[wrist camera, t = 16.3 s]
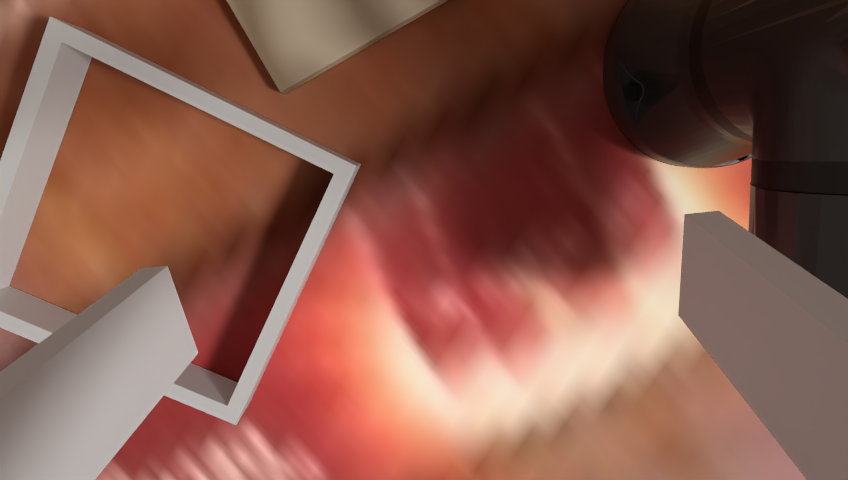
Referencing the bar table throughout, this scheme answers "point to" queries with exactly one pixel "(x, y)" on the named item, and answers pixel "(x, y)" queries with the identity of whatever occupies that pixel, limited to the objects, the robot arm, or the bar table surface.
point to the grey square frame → (33, 160)
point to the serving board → (319, 31)
